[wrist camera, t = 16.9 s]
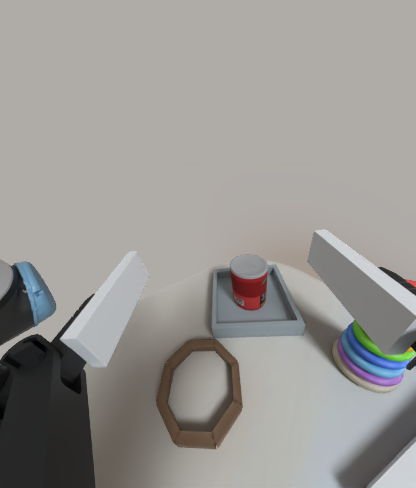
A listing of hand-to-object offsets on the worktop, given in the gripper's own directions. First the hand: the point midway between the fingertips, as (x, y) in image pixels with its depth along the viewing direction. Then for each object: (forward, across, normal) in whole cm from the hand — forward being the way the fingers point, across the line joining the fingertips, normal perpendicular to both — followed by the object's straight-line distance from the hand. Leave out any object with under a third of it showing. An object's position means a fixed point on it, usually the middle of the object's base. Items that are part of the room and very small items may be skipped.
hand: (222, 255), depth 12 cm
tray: (+17, +5, -28) cm, 33 cm away
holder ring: (+1, -6, -28) cm, 28 cm away
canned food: (+17, +5, -27) cm, 32 cm away
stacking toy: (+3, +21, -28) cm, 35 cm away
